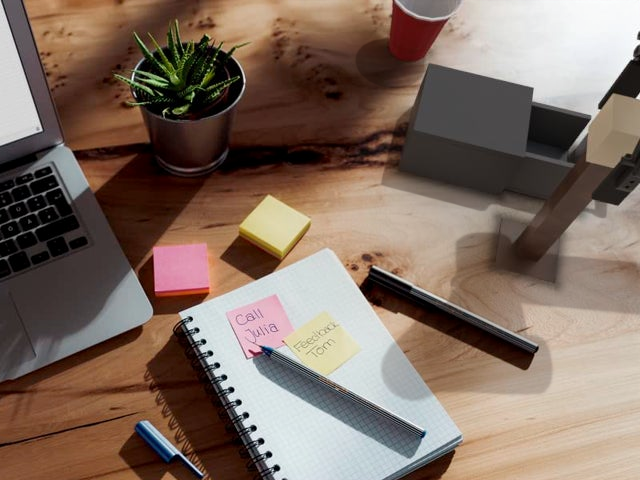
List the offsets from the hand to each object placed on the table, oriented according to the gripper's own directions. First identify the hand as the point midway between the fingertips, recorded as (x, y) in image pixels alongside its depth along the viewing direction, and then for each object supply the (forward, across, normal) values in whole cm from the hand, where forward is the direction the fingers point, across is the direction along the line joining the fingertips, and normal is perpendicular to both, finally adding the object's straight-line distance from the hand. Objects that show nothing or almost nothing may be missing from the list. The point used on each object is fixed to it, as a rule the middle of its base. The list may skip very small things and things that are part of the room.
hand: (607, 153), depth 71 cm
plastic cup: (+22, -32, -22) cm, 44 cm away
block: (-1, 0, 0) cm, 1 cm away
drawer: (+20, -14, +2) cm, 25 cm away
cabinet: (+21, -14, -12) cm, 28 cm away
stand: (+21, 0, 0) cm, 21 cm away
